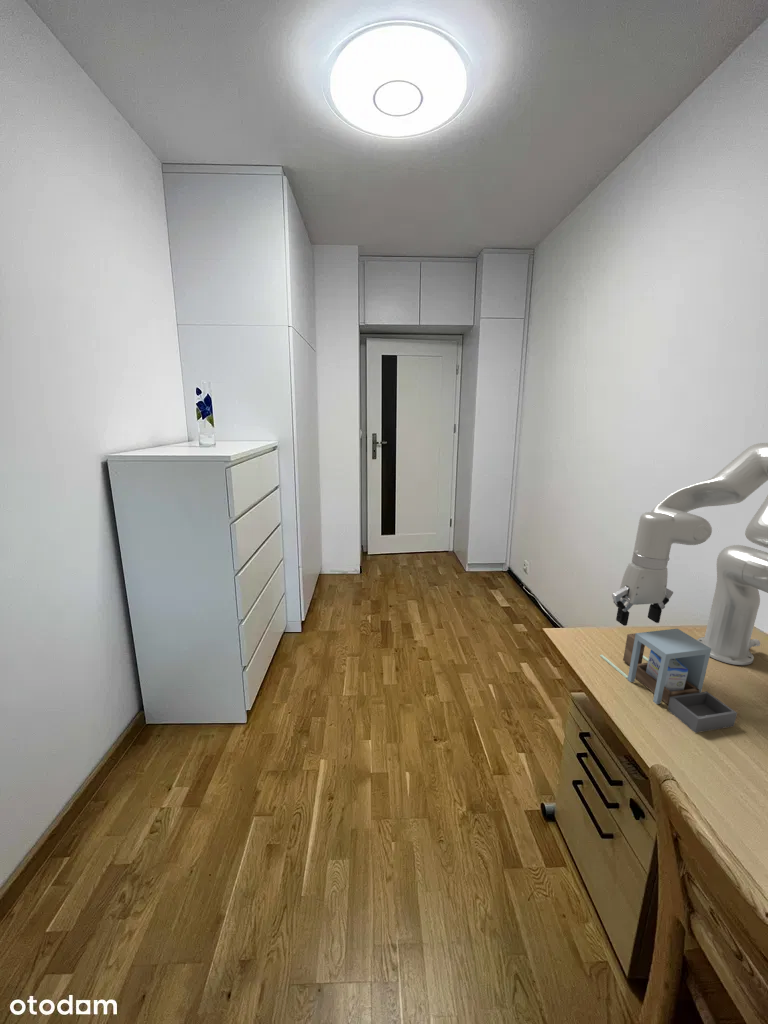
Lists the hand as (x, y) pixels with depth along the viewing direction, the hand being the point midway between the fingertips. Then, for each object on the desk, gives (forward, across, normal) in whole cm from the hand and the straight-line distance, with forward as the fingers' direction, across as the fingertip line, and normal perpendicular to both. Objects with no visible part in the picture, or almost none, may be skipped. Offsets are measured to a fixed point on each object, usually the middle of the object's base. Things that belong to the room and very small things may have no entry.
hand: (637, 621), depth 107 cm
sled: (+12, -1, +7) cm, 14 cm away
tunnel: (+13, -1, +10) cm, 16 cm away
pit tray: (+13, -1, +20) cm, 24 cm away
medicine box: (+13, -1, +10) cm, 17 cm away
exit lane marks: (+13, -1, 0) cm, 13 cm away
